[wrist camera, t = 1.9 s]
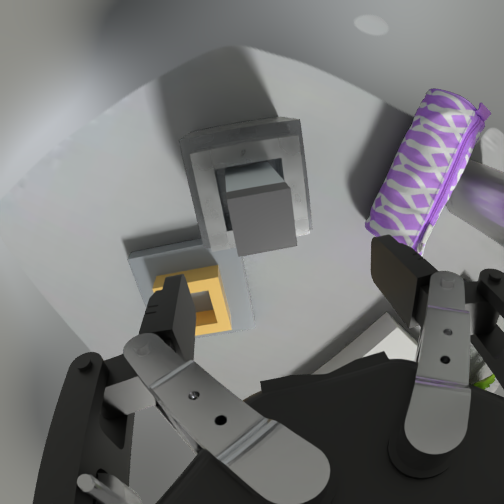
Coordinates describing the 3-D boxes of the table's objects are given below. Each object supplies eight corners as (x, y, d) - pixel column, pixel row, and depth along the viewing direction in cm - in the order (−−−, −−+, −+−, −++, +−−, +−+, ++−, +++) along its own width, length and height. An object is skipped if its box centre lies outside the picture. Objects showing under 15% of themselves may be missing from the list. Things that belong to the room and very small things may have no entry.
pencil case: (398, 247, 42) (433, 280, 33) (348, 227, 40) (379, 260, 31) (456, 114, 33) (502, 122, 25) (410, 80, 31) (456, 79, 23)
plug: (267, 161, 25) (290, 188, 17) (273, 202, 27) (297, 245, 19) (224, 169, 25) (226, 199, 17) (232, 209, 27) (238, 256, 19)
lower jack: (237, 231, 38) (239, 248, 34) (254, 319, 45) (258, 342, 40) (131, 252, 38) (121, 271, 34) (163, 334, 44) (158, 357, 40)
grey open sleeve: (278, 116, 33) (309, 120, 21) (289, 198, 37) (321, 242, 25) (190, 131, 32) (173, 144, 21) (208, 213, 37) (202, 265, 25)
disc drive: (288, 387, 53) (293, 408, 49) (384, 309, 47) (397, 327, 43) (342, 411, 60) (348, 428, 55) (423, 348, 54) (435, 364, 49)
